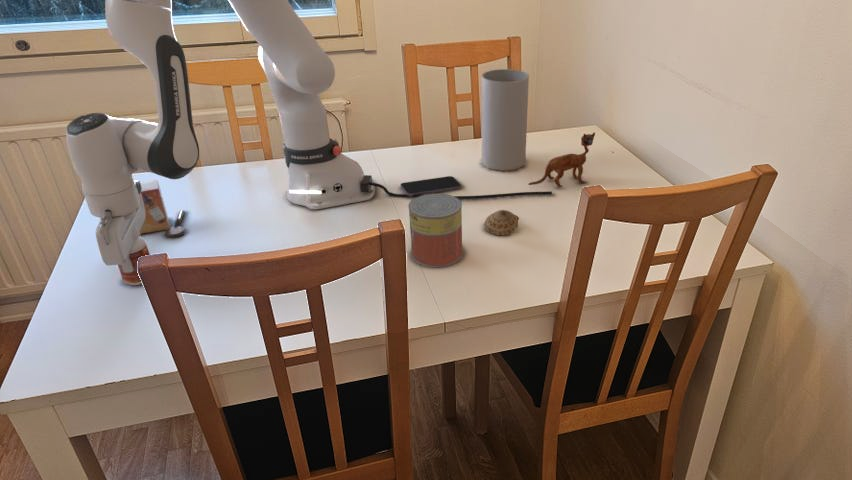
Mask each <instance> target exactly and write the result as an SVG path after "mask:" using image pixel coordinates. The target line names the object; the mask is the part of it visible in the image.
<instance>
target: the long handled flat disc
mask: <svg viewBox="0 0 852 480" xmlns="http://www.w3.org/2000/svg"><path fill="white" fill-rule="evenodd" d="M184 214H185V210H184V209H180V210H179V213H178V215H177V218H176V221H175V224H174V226H171V227H170V228H169V229H167V230H164V231H165V232H164V233H165V236H166V237H167V238H169V239H175V238H180V237H182V236H183V235H184V234H185V229H184V227H183V226H181V224H182V220H183V218H184Z"/></svg>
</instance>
